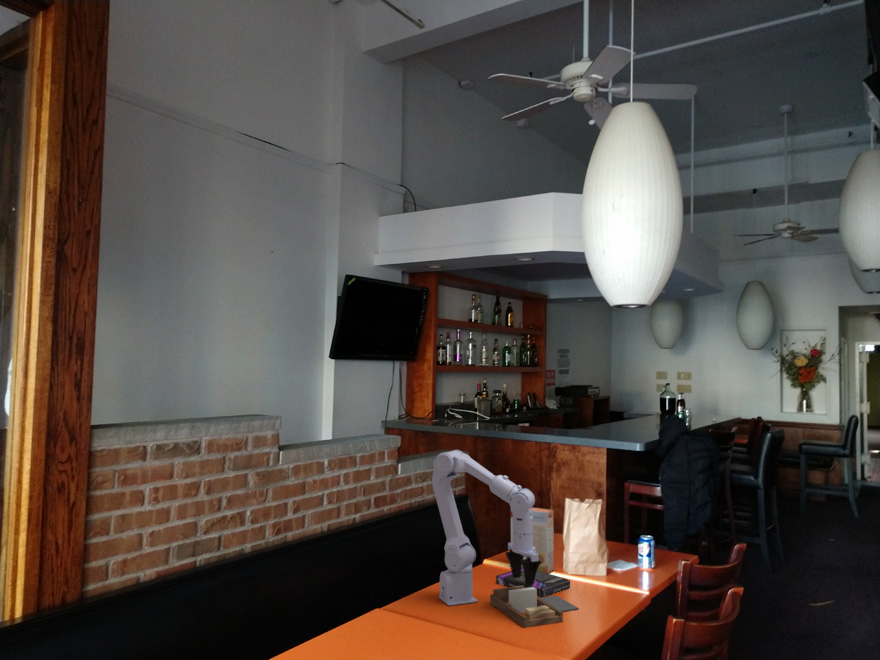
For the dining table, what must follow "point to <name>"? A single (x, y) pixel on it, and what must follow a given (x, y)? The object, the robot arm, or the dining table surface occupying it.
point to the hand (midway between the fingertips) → (523, 580)
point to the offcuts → (538, 612)
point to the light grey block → (523, 598)
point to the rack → (499, 602)
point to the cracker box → (542, 537)
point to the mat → (559, 603)
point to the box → (536, 582)
